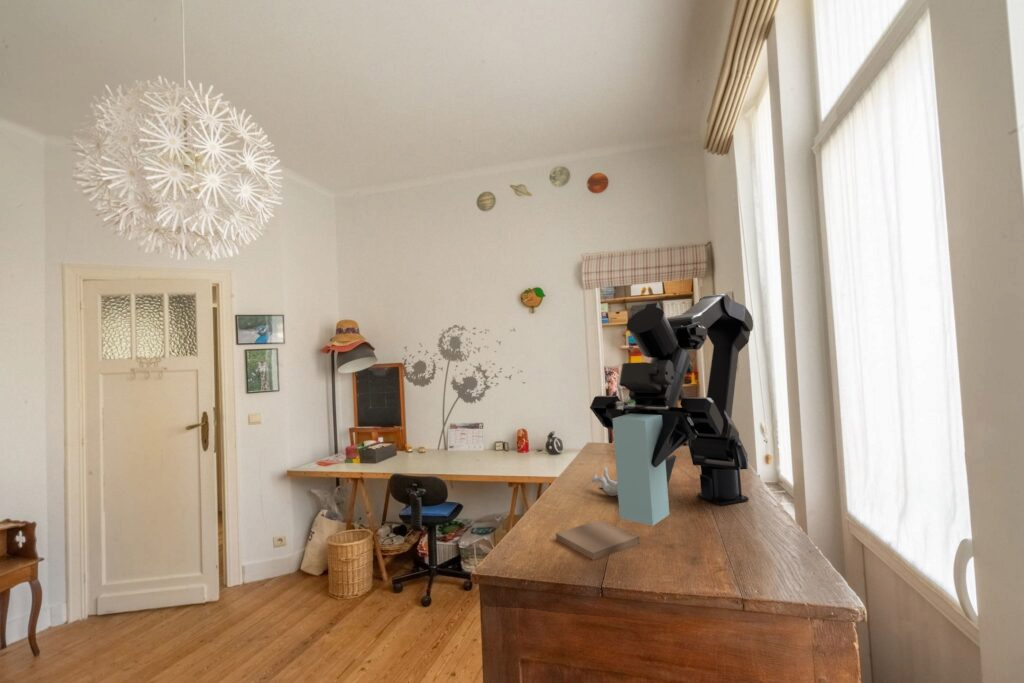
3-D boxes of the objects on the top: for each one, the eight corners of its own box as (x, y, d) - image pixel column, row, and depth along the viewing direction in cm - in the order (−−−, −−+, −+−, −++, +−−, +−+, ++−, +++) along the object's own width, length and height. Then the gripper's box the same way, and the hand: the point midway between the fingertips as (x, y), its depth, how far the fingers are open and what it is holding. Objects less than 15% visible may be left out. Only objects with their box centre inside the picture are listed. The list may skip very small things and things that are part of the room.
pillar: (637, 507, 66) (630, 413, 67) (669, 514, 63) (661, 415, 63) (619, 518, 63) (612, 418, 63) (653, 525, 59) (645, 420, 60)
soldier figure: (616, 490, 97) (651, 485, 87) (607, 509, 94) (642, 506, 84) (589, 468, 96) (621, 460, 86) (579, 487, 94) (611, 481, 84)
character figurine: (617, 499, 89) (653, 481, 99) (651, 503, 84) (685, 484, 94) (612, 459, 89) (649, 446, 100) (645, 461, 84) (680, 446, 95)
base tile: (599, 528, 75) (599, 519, 75) (639, 546, 67) (638, 536, 67) (556, 543, 70) (555, 533, 71) (593, 563, 63) (593, 553, 63)
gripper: (592, 346, 73) (554, 424, 65) (708, 337, 60) (680, 434, 52) (620, 389, 78) (589, 467, 70) (733, 390, 65) (711, 485, 57)
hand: (635, 463), depth 62 cm, fingers closed on pillar, 5 cm apart
